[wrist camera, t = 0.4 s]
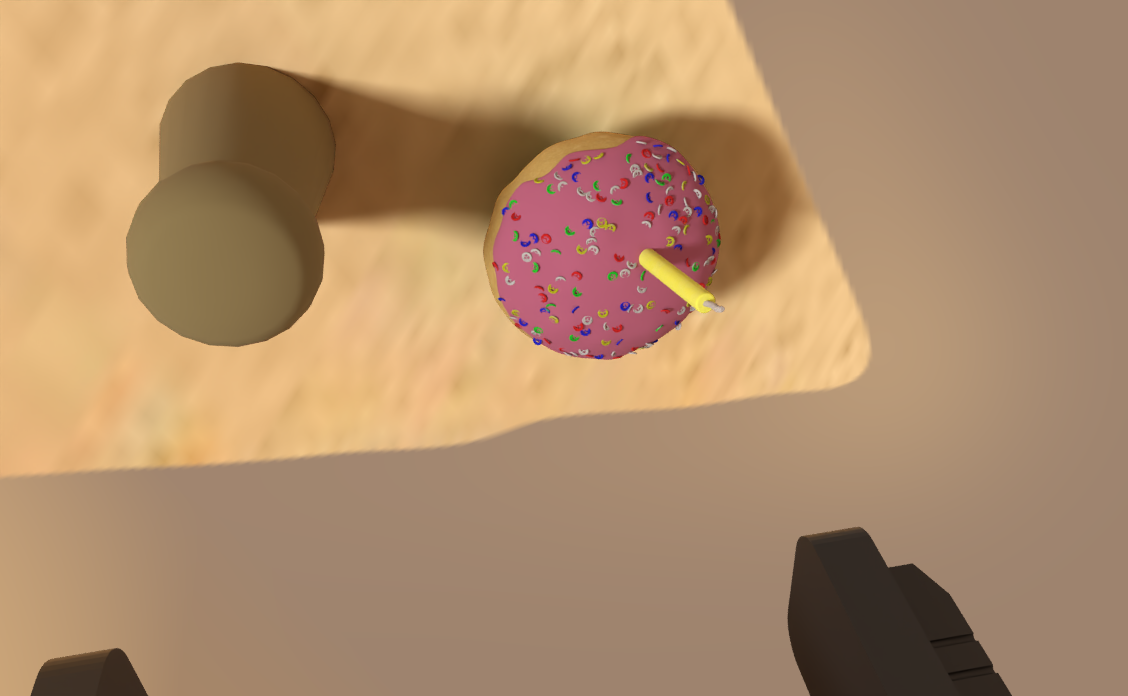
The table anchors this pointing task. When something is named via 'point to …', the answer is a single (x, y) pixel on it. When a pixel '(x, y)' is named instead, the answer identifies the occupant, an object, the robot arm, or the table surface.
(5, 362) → the table surface
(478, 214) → the table surface
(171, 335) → the table surface
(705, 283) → the cupcake
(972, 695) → the robot arm
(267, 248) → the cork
